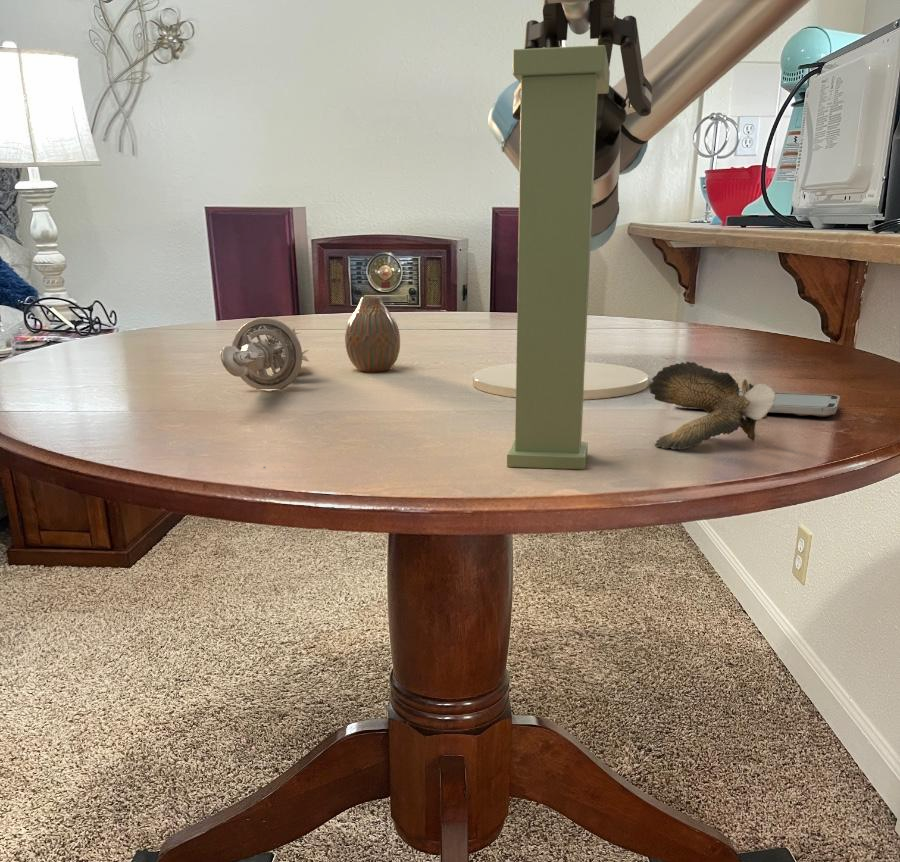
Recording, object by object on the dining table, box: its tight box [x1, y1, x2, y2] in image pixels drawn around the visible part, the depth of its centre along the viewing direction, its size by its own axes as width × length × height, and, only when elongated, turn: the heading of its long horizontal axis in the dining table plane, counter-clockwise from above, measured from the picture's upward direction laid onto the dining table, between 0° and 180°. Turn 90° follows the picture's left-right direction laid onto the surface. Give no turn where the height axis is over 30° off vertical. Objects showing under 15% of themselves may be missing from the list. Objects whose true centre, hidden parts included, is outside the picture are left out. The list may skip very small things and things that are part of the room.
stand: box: [506, 45, 611, 470], centre depth 69 cm, size 12×6×28 cm, turn 169°
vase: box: [344, 295, 401, 373], centre depth 111 cm, size 7×7×9 cm
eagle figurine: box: [647, 361, 776, 450], centre depth 74 cm, size 8×7×9 cm
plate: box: [472, 361, 650, 401], centre depth 102 cm, size 20×20×1 cm
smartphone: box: [673, 390, 841, 418], centre depth 88 cm, size 7×1×15 cm
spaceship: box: [219, 317, 310, 390], centre depth 99 cm, size 8×35×8 cm
